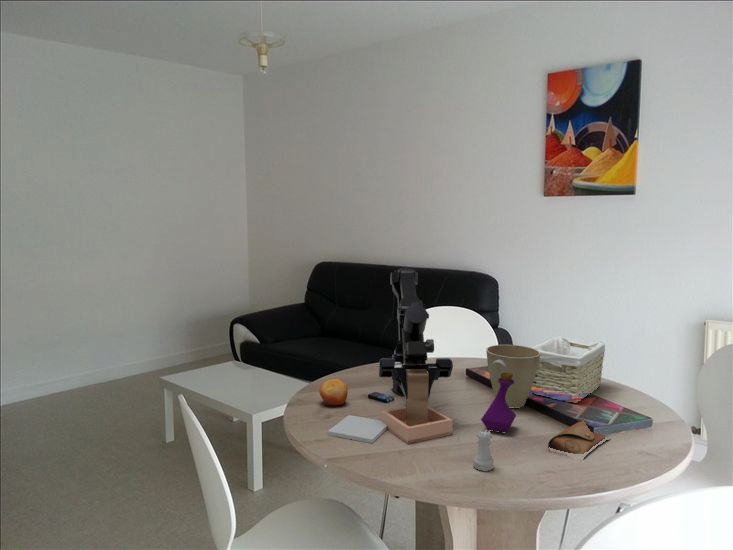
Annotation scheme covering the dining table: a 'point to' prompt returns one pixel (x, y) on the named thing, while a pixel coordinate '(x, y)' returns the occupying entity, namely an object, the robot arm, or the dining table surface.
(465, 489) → the dining table surface
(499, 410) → the perfume bottle
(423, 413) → the walnut block
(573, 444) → the sunglasses case
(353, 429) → the light grey board
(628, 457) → the dining table surface
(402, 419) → the box
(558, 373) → the storage basket
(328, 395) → the fruit
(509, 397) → the plant pot
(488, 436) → the rook chess piece
